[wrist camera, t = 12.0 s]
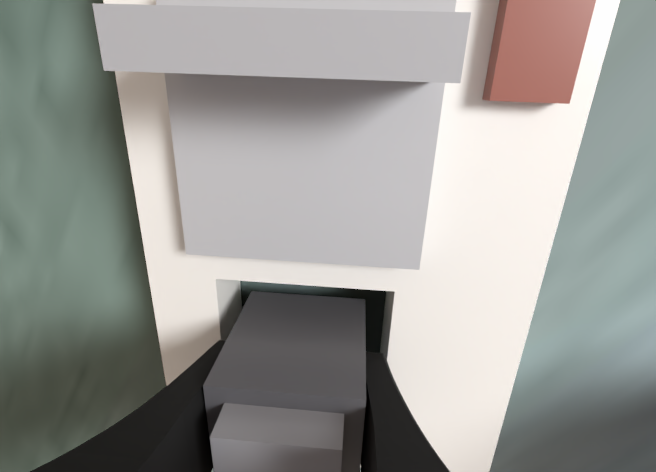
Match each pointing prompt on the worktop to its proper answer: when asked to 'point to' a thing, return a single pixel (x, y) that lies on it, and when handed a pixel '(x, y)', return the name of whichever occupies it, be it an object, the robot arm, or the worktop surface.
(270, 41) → the shutter
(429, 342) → the socket plate
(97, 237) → the worktop surface
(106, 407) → the worktop surface
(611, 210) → the worktop surface
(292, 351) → the plug
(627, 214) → the worktop surface
